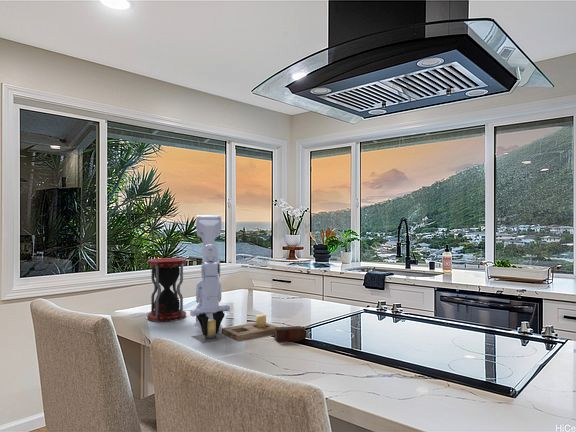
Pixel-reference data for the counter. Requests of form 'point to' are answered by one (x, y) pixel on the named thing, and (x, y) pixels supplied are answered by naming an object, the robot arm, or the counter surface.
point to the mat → (203, 340)
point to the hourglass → (166, 289)
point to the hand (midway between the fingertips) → (210, 333)
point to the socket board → (248, 331)
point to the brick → (289, 334)
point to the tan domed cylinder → (260, 321)
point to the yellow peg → (211, 329)
